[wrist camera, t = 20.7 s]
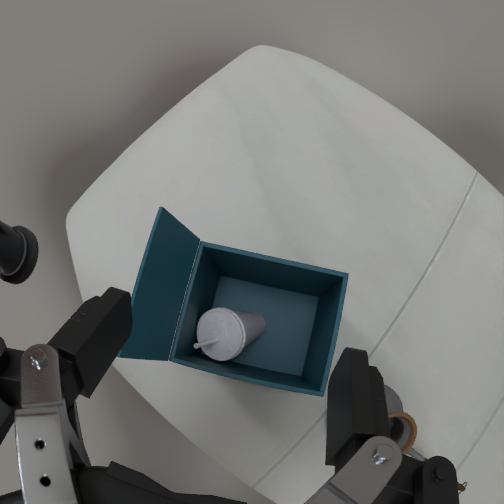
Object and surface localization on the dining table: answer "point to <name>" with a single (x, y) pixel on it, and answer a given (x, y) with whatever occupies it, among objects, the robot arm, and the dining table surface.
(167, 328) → the flap
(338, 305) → the open storage box
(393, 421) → the coffee pot
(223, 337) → the smoothie
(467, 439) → the dining table surface
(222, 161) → the dining table surface
